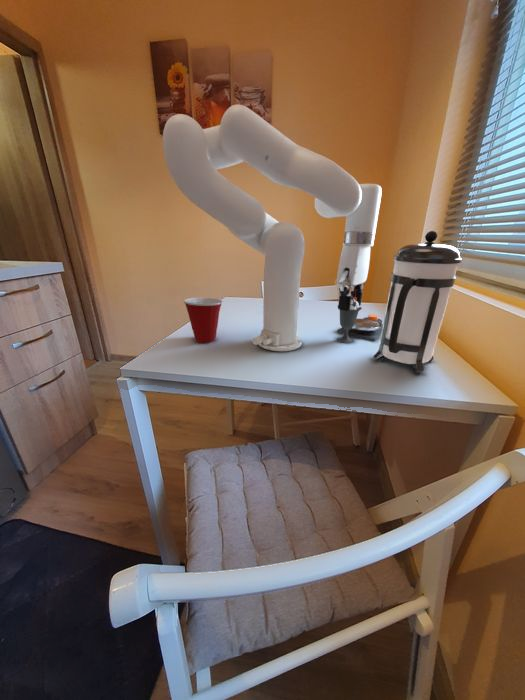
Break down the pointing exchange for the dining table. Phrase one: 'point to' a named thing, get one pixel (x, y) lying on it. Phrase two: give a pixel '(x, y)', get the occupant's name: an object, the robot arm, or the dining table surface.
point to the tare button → (373, 317)
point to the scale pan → (366, 325)
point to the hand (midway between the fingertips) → (349, 307)
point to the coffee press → (417, 301)
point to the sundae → (349, 319)
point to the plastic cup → (203, 317)
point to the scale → (365, 332)
